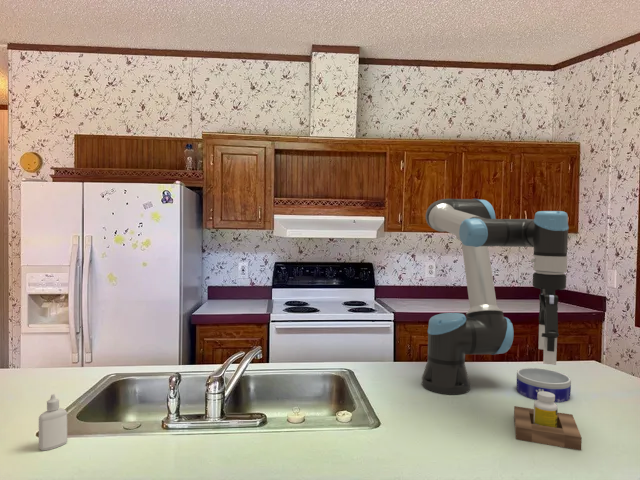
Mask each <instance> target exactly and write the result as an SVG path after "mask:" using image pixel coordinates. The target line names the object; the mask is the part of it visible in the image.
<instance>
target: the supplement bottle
mask: <svg viewBox="0 0 640 480" xmlns="http://www.w3.org/2000/svg"><path fill="white" fill-rule="evenodd" d="M537 398H538V400H534V402H533V409H534V417H533V424H536V425H542V426H548V427H555V428H557V412H558V405H557V404H556V403H554V401H555V395H554V394H553V393H550V392H546V391H539V392H538V393H537Z"/></svg>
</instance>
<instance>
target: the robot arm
mask: <svg viewBox="0 0 640 480" xmlns="http://www.w3.org/2000/svg"><path fill="white" fill-rule="evenodd" d="M425 221H426V223H427V226H428V227H430V228H431V229H432V230H435V231H437V232H441V233H442V232H447V233H449V234H451V235H454V236H455V237H456V240H458V241H459V242H461V249H462V256H463V263H464V264H463V265H464V273H465V281H466V288H467V295H468V302H469V303H468V304H469V309H468V310H467V312H466V313H465V314H464V313H462V312H444V313H443V312H442V313H439V314H435V315H433V316H431V317H430V318H429V320H428V328H427V362H426V365H425V368H424V370H423V373H422V375H421V386H422V387H423V388H425V389H426V390H428V391H430V392H434V393H437V394H442V395H462V394H465V393H468V392H469V391H470V390H471V381H470V380H471V379H470V377H469V375H468V371H467V367H466V363H465V362H466V355H491V356H492V355H493V356H494V355H499V354H505V353H507V352H508V351H509V350H510V349H511V347H512V345H513V341H514V335H515V334H514V326H513V323H512V321H511V319H509V318H508V317H506V316H504V311H503V310H502V309H501V308H499V306H498V304H497V298H496V297H497V296H496V291H495V284H494V278H493V271H492V270H493V269H492V264H491V263H492V262H491V256H490V249H489V247H505V248H506V247H507V248H508V247H513V248H517V247H518V248H519V247H520V248H521V247H522V248H533V258H530V262H531V263H533V271H534V272H533V274H532V287H533V288H536V289H540V294H539V296H538V297H539V314H538V317H537V318H538V323H539V324H538V350H543V351H542V352H543V353H542V354H543V356H542V357H543V359H542V362H543V364H544V365H553V366H556V365H557V354H558V353H557V352H558V351H557V348H558V338H559V335H560V334H559V318H558V317H559V316H558V313H559V310H558V309H559V306H558V305H559V296H558V295H556V291H557V290H558V291H563V290H566V288H567V275H566V274H565V273H566V272H567V271H568V240H569V239H568V238H569V229H570V227H569V216H568V213H567V212H565V211H562V210H541V211H540V210H539V211H537V212H535V214H534V218H532V219H530V218H500V219H499V218H496V213H495V210H494V206H493V205H492V204H491V203H490V201H488V200H486V199H479V198H471V199H470V198H441V199H438V200H437V201H434V202H433V203H431V204H430V205H429V206H428V207H427V208H426V212H425Z"/></svg>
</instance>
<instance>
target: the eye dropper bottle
mask: <svg viewBox="0 0 640 480" xmlns="http://www.w3.org/2000/svg"><path fill="white" fill-rule="evenodd" d="M67 443H68V412H67V410H66V409H65V408H61V407H60V399H59V398H57V397H56V394H55V393H52V394H51V395H50V398H49V399H48V400H47V401H46V410H45V411H44V412H42V413H41V414H39V417H38V448H39V449H40V451H49V450H54V449H57V448H59V447H62V446H64V445H66V444H67Z"/></svg>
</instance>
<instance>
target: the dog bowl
mask: <svg viewBox="0 0 640 480" xmlns="http://www.w3.org/2000/svg"><path fill="white" fill-rule="evenodd" d="M571 389H572V379H571V377H569V375H567V374H565V373H563V372H560V371H557V370H554V369H549V368H542V367H522V368H519V369H518V370H516V391H517V392H518V393H519V394H520V395H521V396H523V397H525V398H528V399H531V400H534V401H536V400H538V398H537V393H538V392H539V391H546V392H550V393H553V394H554V395H555V401H554V403H555V404H556V403H557V404H558V403H564V402H567V401H569V400H570V399H571V391H572V390H571Z"/></svg>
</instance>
